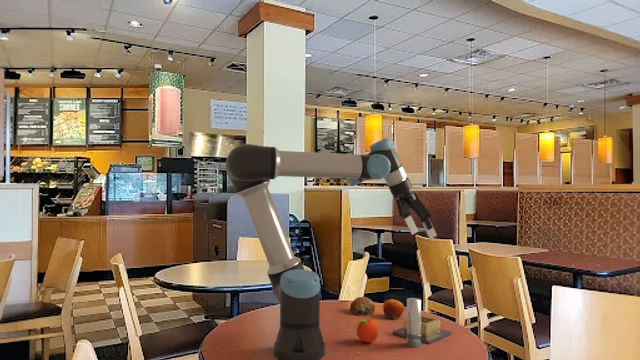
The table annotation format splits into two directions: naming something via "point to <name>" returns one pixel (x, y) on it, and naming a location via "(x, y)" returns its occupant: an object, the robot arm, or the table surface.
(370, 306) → the bread roll
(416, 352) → the table surface
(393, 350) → the table surface
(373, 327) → the clementine
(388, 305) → the fruit
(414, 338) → the silver metal tall cylinder
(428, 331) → the gold square holder
